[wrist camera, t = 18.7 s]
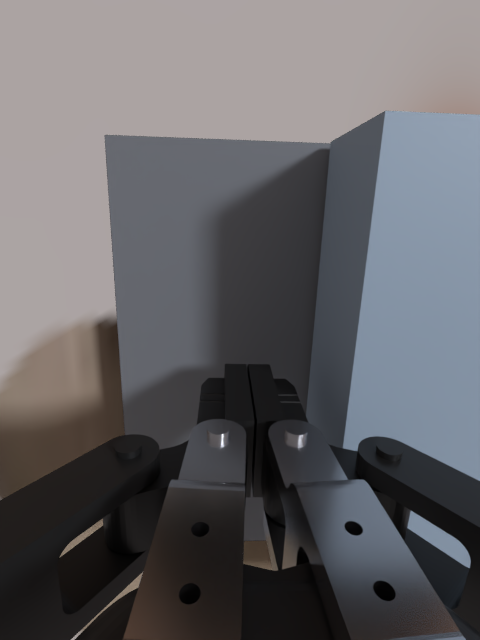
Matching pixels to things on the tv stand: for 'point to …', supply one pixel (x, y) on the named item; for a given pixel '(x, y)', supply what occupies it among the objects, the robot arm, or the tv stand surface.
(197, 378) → the panel
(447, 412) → the vise jaw
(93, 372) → the tv stand surface
